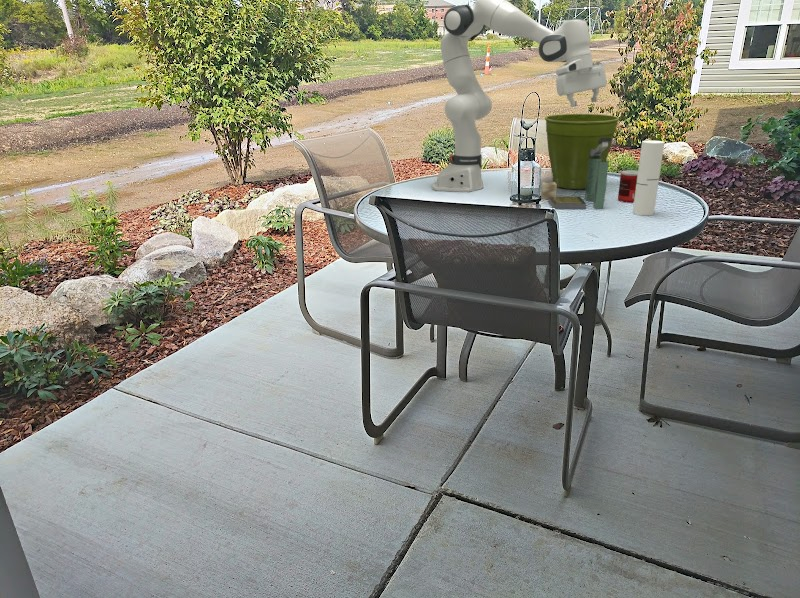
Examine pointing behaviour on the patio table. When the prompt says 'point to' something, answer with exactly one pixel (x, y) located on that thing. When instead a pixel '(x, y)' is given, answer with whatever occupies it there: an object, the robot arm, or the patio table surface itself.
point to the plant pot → (576, 145)
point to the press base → (587, 188)
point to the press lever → (600, 147)
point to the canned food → (627, 185)
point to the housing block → (548, 190)
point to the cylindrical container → (648, 177)
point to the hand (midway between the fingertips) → (584, 104)
